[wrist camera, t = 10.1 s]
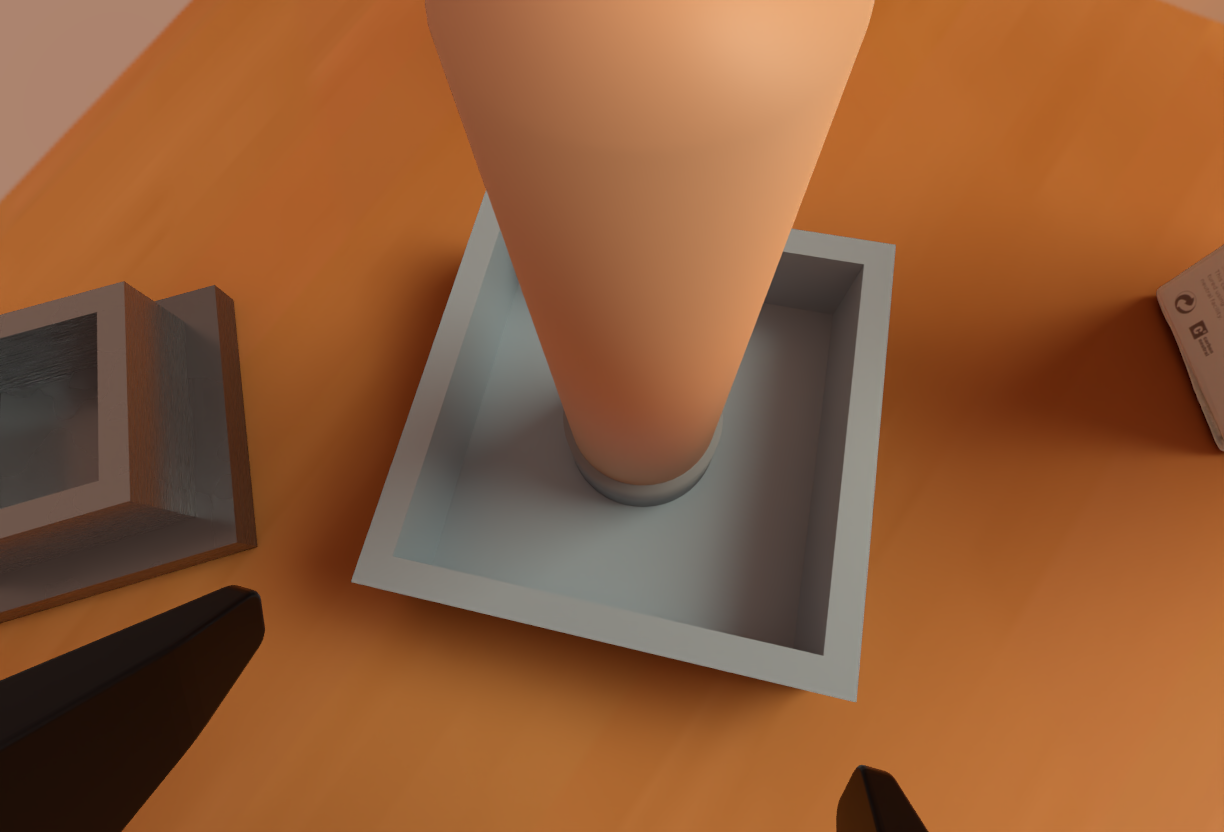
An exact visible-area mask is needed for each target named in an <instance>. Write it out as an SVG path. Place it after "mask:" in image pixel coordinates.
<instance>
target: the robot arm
mask: <svg viewBox="0 0 1224 832" xmlns="http://www.w3.org/2000/svg"><path fill="white" fill-rule="evenodd" d="M264 633H265V625H264V618H263V611H262V604H261V598H260V595H259V594H258V593H257V592H256V591H254V590H251V589H248V588H244V587H241V586H236V585H231V586H227V587H224V588H221V589H219V590H217V591H214V592H212V593H209V594H207V595H205V596H202V597H200V598H197V599H195V600H193V601H190V602H188V603H185V604H183V605H181V606H178V607H176V608H173V609H171V610H169V611H166V612H164V613H161V614H159V615H157V616H154V617H152V618H150V619H147V620H145V621H142V622H140V623H138V624H135V625H133V626H130V627H128V628H126V629H123V630H121V631H118V632H116V633H114V634H111V635H109V636H106V637H104V638H102V639H99V640H97V641H94V642H92V643H90V644H87V645H85V646H82V647H80V648H78V649H75V650H73V651H70V652H68V653H66V654H63V655H61V656H58V657H56V658H54V659H51V660H49V661H46V662H44V663H42V664H39V665H37V666H34V667H32V668H30V669H27V670H25V671H22V672H20V673H18V674H15V675H13V676H10V677H8V678H6V679H3V680H1V681H0V832H121V831H122V830H123V829H124V828H125V827H126V825H127V824H128V823H129V822H130V820H131V819H132V818H133V817H134V815H135V814H136V813H137V812H138V811H139V809H140V808H141V807H142V806H143V804H144V803H145V802H146V801H147V799H148V798H149V797H150V796H151V795H152V793H153V792H154V791H155V790H156V788H157V787H158V786H159V785H160V784H161V782H162V781H163V780H164V779H165V777H166V776H167V775H168V774H169V772H170V771H171V770H172V769H173V768H174V766H175V765H176V764H177V763H178V761H179V760H180V759H181V758H182V756H183V755H184V754H185V753H186V751H187V750H188V749H189V748H190V746H191V745H192V744H193V742H194V741H195V740H196V739H197V737H198V736H199V734H200V733H201V732H202V730H203V729H204V727H205V726H206V725H207V723H208V722H209V720H210V719H211V717H212V716H213V714H214V713H215V711H216V710H217V708H218V707H219V705H220V704H221V702H222V701H223V700H224V698H225V697H226V695H227V694H228V692H229V691H230V689H231V688H232V686H233V685H234V683H235V682H236V680H237V679H238V677H239V676H240V674H241V673H242V671H243V670H244V668H245V667H246V666H247V664H248V663H249V661H250V660H251V658H252V657H253V655H254V654H255V652H256V651H257V649H258V648H259V646H260V644H261V642H262V640H263V637H264ZM836 832H928V830H927V829H926V827H925V826H924V824H923V823H922V821H921V819H920V818H919V816H918V815H917V813H916V811H915V810H914V808H913V807H912V805H911V804H910V802H909V800H908V799H907V797H906V796H905V794H904V792H903V791H902V789H901V788H900V786H899V785H898V783H897V781H896V780H895V778H894V777H893V776H892V775H891V774H889V773H888V772H886V771H883V770H879V769H876V768H872V767H869V766H865V765H860V766H858V767H857V768H856V769H855V771H854V772H853V774H852V776H851V778H850V780H849V782H848V784H847V786H846V788H845V790H844V792H843V794H842V796H841V798H840V800H839V803H838V808H837V816H836Z"/></svg>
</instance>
